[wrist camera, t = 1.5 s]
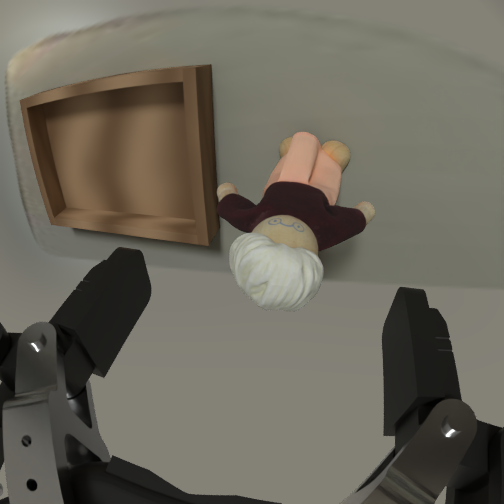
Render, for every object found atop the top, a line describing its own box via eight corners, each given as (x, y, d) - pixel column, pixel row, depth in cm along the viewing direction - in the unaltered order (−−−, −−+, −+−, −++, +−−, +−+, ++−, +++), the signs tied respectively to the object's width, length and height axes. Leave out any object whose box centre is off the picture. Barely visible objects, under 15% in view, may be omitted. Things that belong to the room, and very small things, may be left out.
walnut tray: (211, 64, 17) (195, 67, 15) (219, 227, 24) (208, 245, 22) (40, 92, 20) (19, 100, 18) (67, 211, 27) (51, 224, 25)
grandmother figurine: (364, 126, 17) (402, 243, 8) (366, 183, 20) (386, 340, 10) (241, 133, 20) (138, 245, 10) (252, 187, 22) (175, 328, 12)
